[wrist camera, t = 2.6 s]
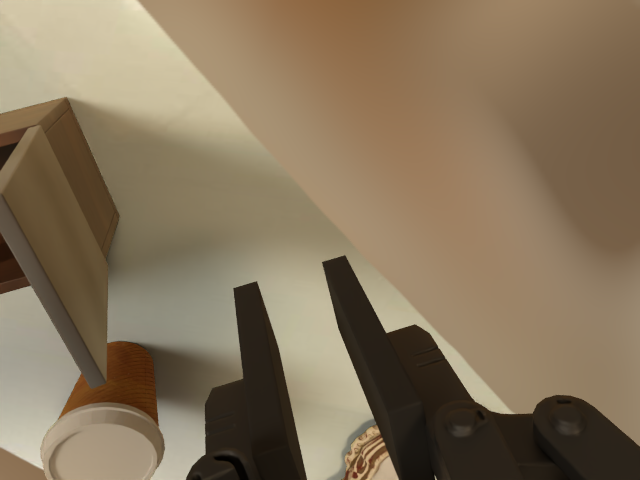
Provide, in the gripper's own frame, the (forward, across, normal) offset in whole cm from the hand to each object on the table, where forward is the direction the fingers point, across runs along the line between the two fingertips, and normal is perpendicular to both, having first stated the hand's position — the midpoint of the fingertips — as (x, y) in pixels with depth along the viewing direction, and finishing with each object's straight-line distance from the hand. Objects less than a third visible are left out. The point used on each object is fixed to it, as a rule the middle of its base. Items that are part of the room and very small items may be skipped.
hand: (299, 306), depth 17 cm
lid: (+15, -12, -1) cm, 19 cm away
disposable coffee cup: (+31, -18, -22) cm, 42 cm away
